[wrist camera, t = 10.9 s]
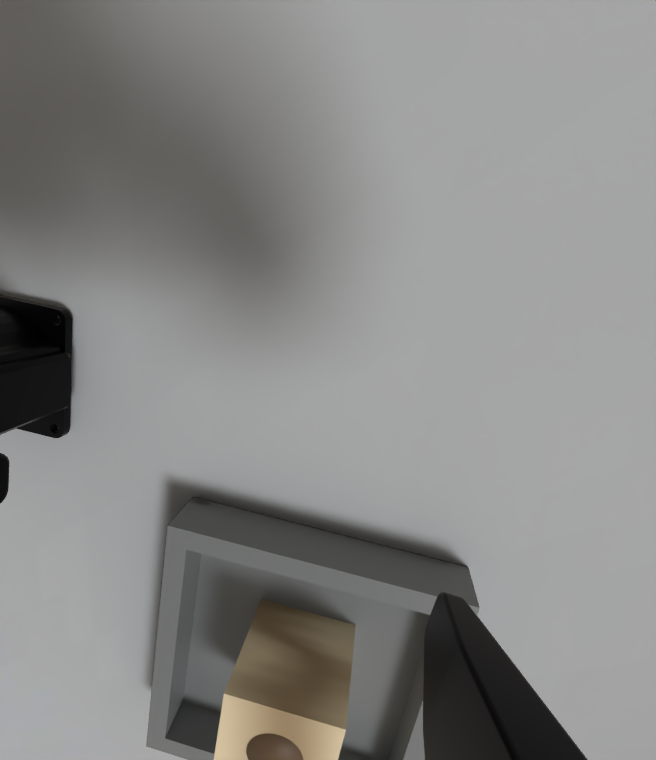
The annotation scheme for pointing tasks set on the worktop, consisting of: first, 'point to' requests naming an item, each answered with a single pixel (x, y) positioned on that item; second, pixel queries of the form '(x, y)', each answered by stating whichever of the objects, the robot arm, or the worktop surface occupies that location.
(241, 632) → the tray
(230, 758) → the maple block
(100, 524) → the worktop surface
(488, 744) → the robot arm
